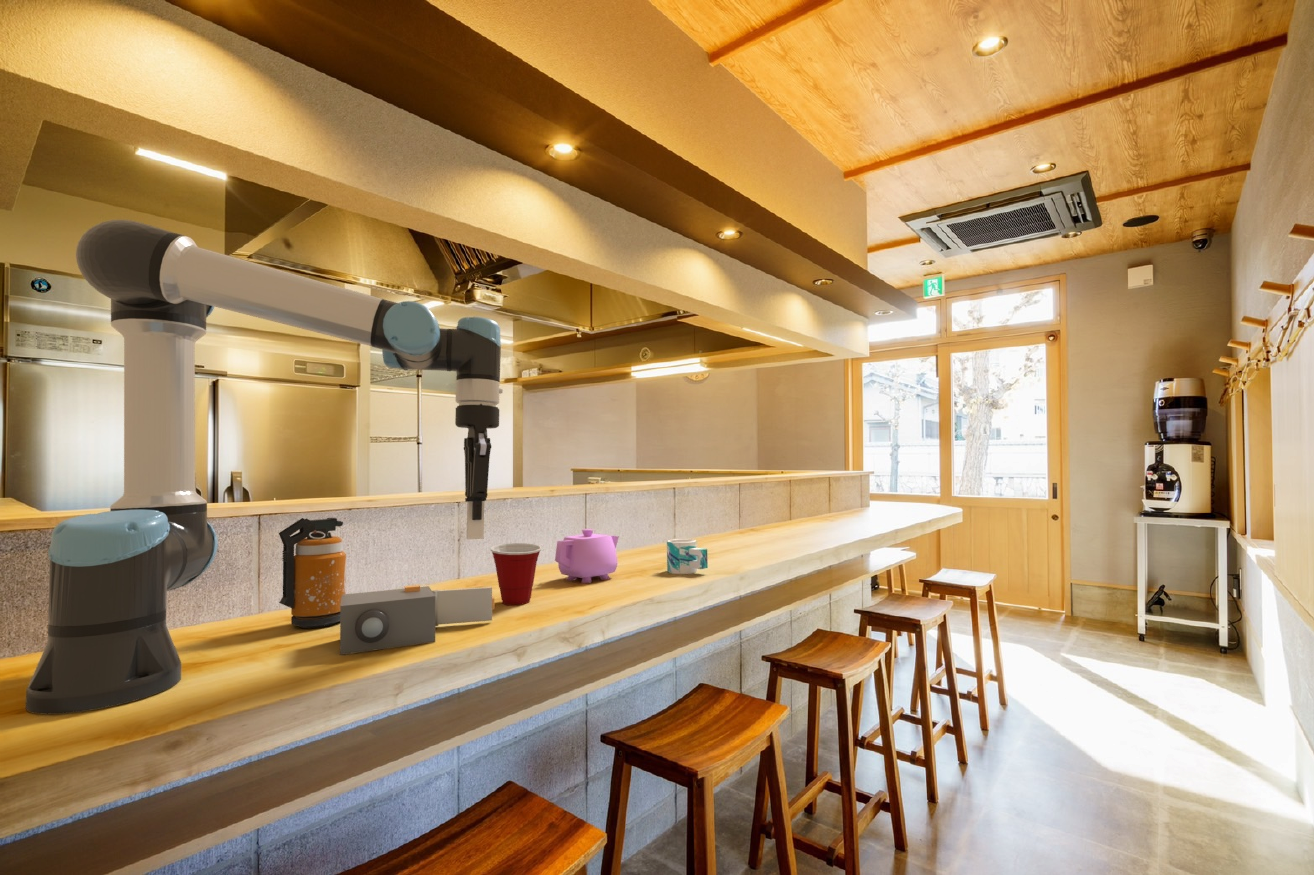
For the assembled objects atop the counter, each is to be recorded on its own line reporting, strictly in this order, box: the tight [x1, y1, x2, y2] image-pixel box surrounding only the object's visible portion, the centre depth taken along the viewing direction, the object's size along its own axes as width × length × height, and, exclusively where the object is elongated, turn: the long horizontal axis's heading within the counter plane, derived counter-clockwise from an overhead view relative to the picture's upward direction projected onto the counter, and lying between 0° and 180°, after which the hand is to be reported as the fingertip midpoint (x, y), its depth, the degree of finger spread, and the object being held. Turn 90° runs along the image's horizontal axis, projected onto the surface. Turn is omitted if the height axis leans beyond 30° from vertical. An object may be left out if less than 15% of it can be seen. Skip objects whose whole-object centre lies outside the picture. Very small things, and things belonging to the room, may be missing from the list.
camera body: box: [339, 584, 436, 656], centre depth 102 cm, size 14×12×8 cm
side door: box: [432, 586, 495, 627], centre depth 112 cm, size 2×11×6 cm, turn 104°
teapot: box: [554, 528, 619, 584], centre depth 157 cm, size 20×12×13 cm, turn 136°
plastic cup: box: [489, 542, 543, 606], centre depth 130 cm, size 11×11×12 cm
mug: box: [666, 538, 708, 575], centre depth 164 cm, size 8×12×8 cm
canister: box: [278, 517, 347, 629], centre depth 115 cm, size 9×11×20 cm
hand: (475, 538), depth 108 cm, fingers closed
